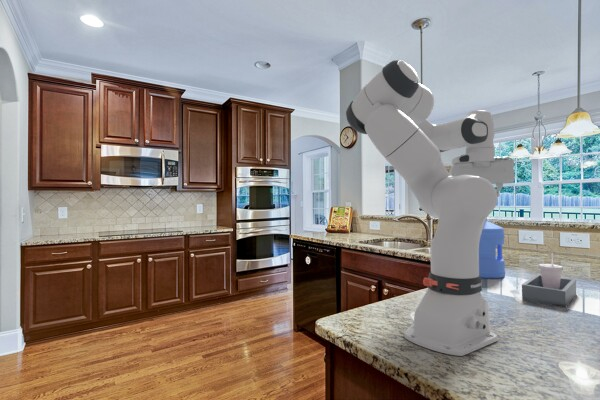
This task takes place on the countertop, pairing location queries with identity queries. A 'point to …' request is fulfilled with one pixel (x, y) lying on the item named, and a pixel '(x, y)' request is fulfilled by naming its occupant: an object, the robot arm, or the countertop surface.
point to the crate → (549, 292)
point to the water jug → (491, 251)
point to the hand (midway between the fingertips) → (481, 197)
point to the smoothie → (551, 274)
